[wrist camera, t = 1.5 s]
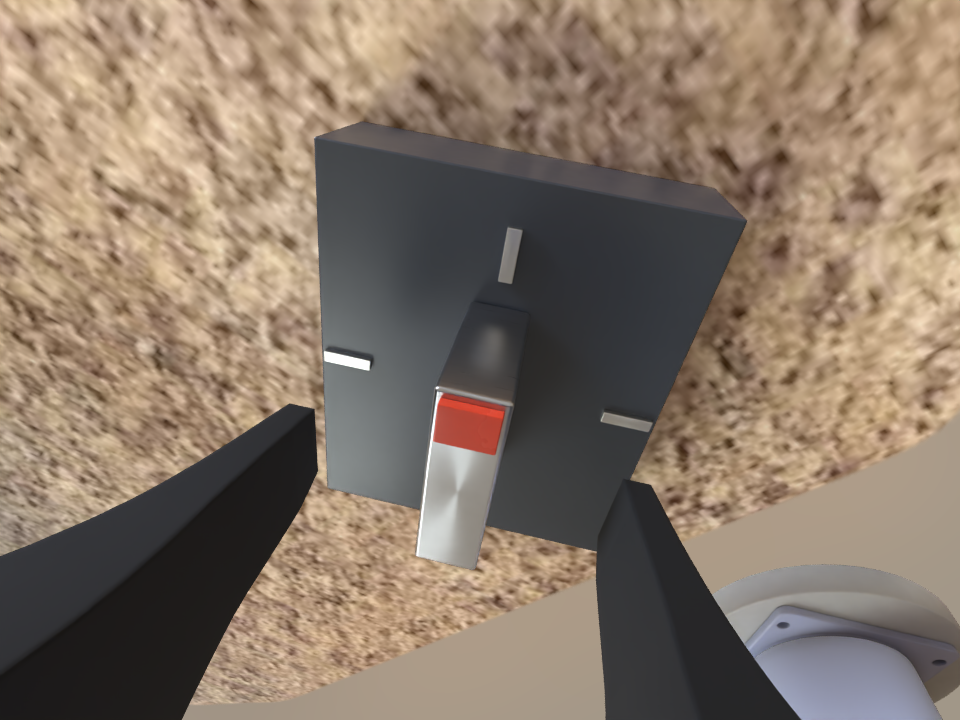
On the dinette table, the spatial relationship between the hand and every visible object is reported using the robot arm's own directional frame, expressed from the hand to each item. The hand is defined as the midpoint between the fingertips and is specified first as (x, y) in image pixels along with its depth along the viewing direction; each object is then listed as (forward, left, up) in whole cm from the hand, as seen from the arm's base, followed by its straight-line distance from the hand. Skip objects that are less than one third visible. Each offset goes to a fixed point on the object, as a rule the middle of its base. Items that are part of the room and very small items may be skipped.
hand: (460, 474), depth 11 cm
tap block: (0, 0, -6) cm, 6 cm away
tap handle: (0, 0, -3) cm, 3 cm away
